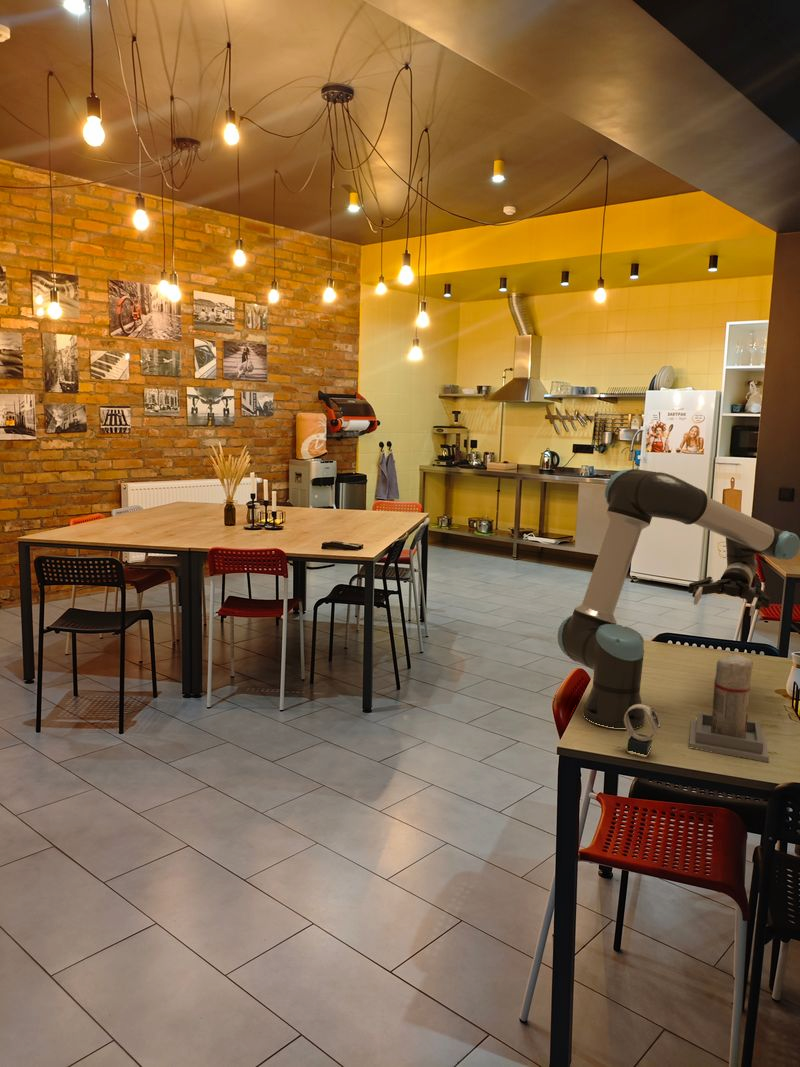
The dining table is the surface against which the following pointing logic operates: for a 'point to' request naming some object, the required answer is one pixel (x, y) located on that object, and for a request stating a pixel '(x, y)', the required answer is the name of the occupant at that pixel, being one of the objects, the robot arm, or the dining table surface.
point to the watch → (640, 741)
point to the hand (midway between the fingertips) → (723, 605)
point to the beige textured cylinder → (731, 696)
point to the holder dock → (729, 739)
